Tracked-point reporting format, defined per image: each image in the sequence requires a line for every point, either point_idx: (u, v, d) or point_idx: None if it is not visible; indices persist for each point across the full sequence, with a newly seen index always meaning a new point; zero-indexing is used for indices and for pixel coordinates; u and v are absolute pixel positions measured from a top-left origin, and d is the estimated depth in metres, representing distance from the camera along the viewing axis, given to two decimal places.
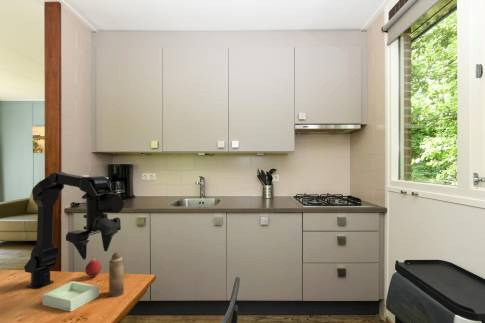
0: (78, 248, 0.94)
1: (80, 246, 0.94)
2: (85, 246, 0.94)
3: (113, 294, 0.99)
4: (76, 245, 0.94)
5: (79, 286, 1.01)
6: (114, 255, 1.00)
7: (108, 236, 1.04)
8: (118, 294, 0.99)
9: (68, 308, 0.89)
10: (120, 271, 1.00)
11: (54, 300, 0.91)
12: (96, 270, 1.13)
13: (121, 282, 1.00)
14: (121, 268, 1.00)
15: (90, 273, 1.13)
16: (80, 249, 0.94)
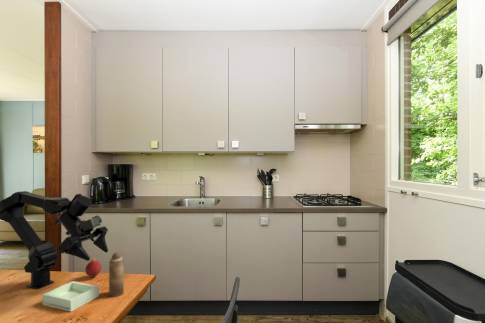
0: (77, 254, 0.98)
1: (78, 251, 0.98)
2: (82, 247, 0.98)
3: (113, 294, 0.99)
4: (74, 253, 0.98)
5: (79, 286, 1.01)
6: (114, 255, 1.00)
7: (100, 239, 1.08)
8: (118, 294, 0.99)
9: (68, 308, 0.89)
10: (120, 271, 1.00)
11: (54, 300, 0.91)
12: (96, 270, 1.13)
13: (121, 282, 1.00)
14: (121, 268, 1.00)
15: (90, 273, 1.13)
16: (79, 253, 0.98)
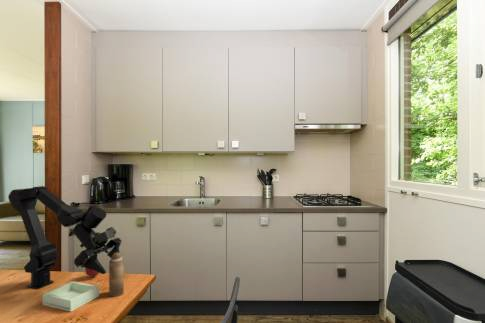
0: (93, 268, 0.96)
1: (93, 264, 0.97)
2: (97, 261, 0.97)
3: (113, 294, 0.99)
4: (89, 266, 0.96)
5: (79, 286, 1.01)
6: (114, 255, 1.00)
7: (115, 251, 1.07)
8: (118, 294, 0.99)
9: (68, 308, 0.89)
10: (120, 271, 1.00)
11: (54, 300, 0.91)
12: None
13: (121, 282, 1.00)
14: (121, 268, 1.00)
15: (90, 273, 1.13)
16: (95, 267, 0.96)
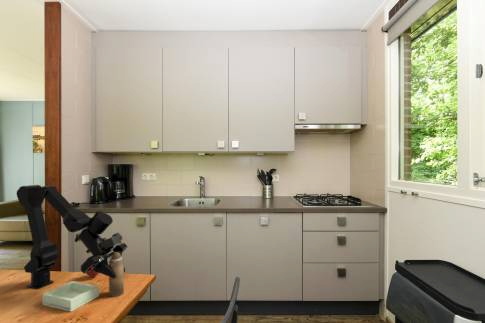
0: (103, 272, 0.98)
1: (104, 269, 0.98)
2: (107, 265, 0.98)
3: (113, 294, 0.99)
4: (100, 271, 0.98)
5: (79, 286, 1.01)
6: (114, 255, 1.00)
7: None
8: (118, 294, 0.99)
9: (68, 308, 0.89)
10: (120, 271, 1.00)
11: (54, 300, 0.91)
12: None
13: (121, 282, 1.00)
14: (121, 268, 1.00)
15: (90, 273, 1.13)
16: (105, 271, 0.98)
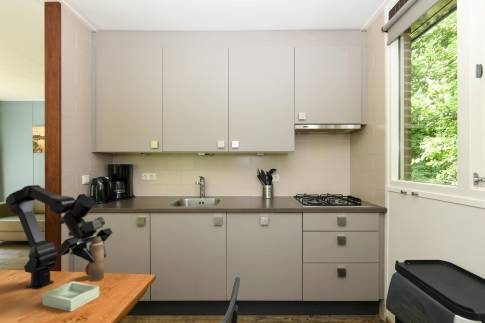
0: (82, 255, 0.96)
1: (82, 252, 0.96)
2: (86, 249, 0.96)
3: (91, 279, 0.96)
4: (79, 254, 0.96)
5: (79, 286, 1.01)
6: (94, 239, 0.98)
7: None
8: (97, 279, 0.97)
9: (68, 308, 0.89)
10: (99, 256, 0.97)
11: (54, 300, 0.91)
12: None
13: (100, 267, 0.98)
14: (100, 253, 0.98)
15: None
16: (84, 255, 0.96)
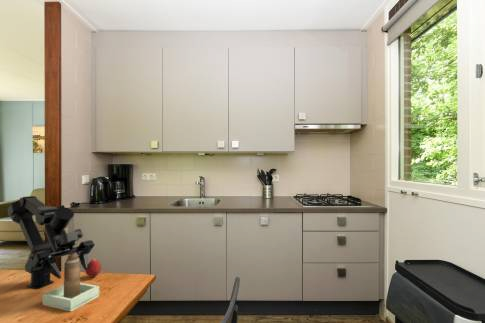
0: (50, 270, 0.93)
1: (51, 267, 0.93)
2: (54, 264, 0.93)
3: None
4: (47, 269, 0.93)
5: None
6: (69, 256, 0.96)
7: (82, 254, 1.01)
8: (70, 298, 0.94)
9: (68, 308, 0.89)
10: (73, 274, 0.95)
11: (54, 300, 0.91)
12: (96, 270, 1.13)
13: (74, 286, 0.95)
14: (75, 271, 0.95)
15: (90, 273, 1.13)
16: (52, 270, 0.92)
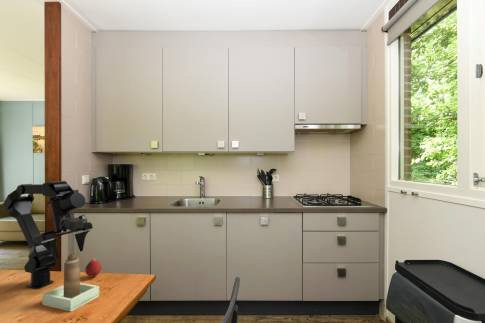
0: (49, 249, 0.98)
1: (50, 247, 0.98)
2: (55, 245, 0.98)
3: None
4: (47, 247, 0.98)
5: None
6: (69, 256, 0.96)
7: (81, 236, 1.07)
8: (70, 298, 0.94)
9: (68, 308, 0.89)
10: (73, 274, 0.95)
11: (54, 300, 0.91)
12: (96, 270, 1.13)
13: (74, 286, 0.95)
14: (74, 271, 0.95)
15: (90, 273, 1.13)
16: (51, 250, 0.98)
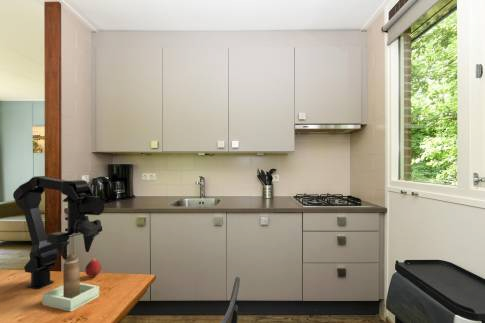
0: (59, 249, 0.99)
1: (61, 247, 0.98)
2: (66, 247, 0.98)
3: None
4: (57, 246, 0.98)
5: None
6: (68, 257, 0.95)
7: (89, 237, 1.08)
8: (70, 298, 0.94)
9: (68, 308, 0.89)
10: (72, 274, 0.94)
11: (54, 300, 0.91)
12: (96, 270, 1.13)
13: (74, 286, 0.95)
14: (74, 271, 0.95)
15: (90, 273, 1.13)
16: (61, 250, 0.98)
